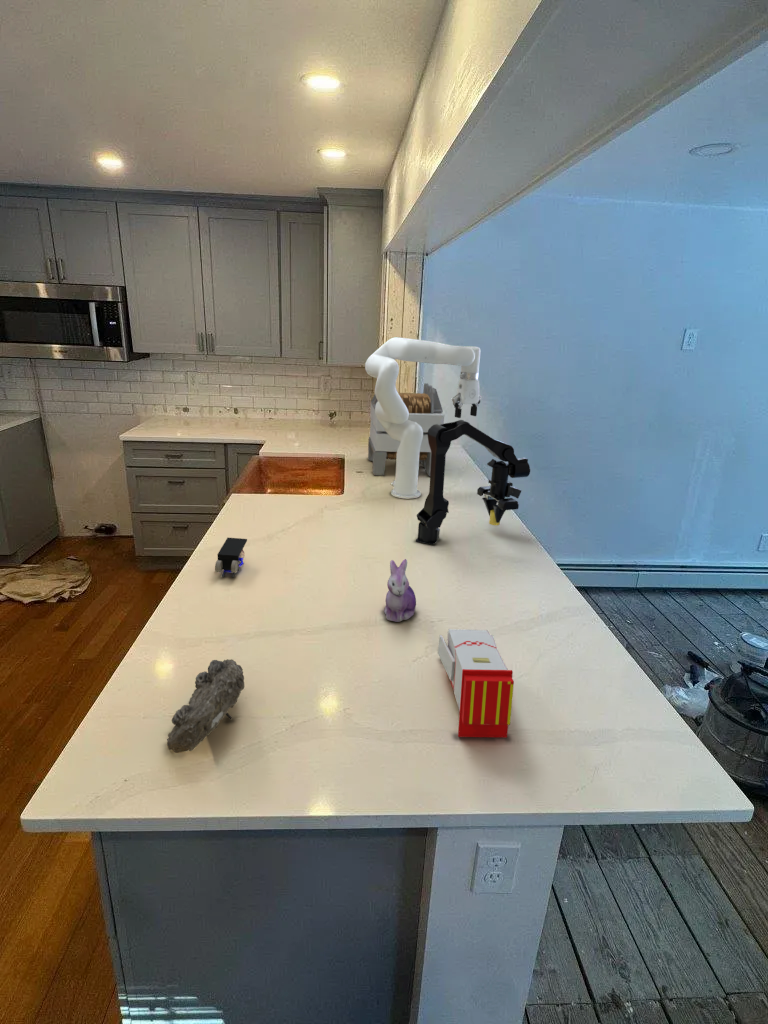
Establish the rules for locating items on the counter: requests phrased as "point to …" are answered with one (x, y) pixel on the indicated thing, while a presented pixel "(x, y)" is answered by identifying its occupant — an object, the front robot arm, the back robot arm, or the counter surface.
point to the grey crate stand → (420, 410)
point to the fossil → (206, 705)
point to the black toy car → (230, 556)
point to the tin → (493, 518)
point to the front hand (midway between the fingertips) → (494, 520)
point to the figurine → (399, 594)
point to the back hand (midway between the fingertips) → (465, 416)
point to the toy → (478, 682)
